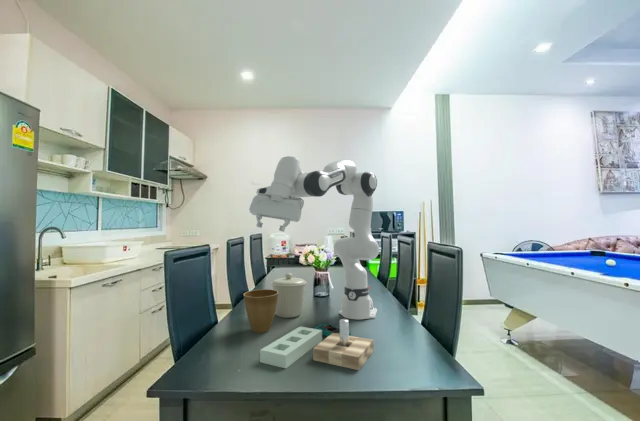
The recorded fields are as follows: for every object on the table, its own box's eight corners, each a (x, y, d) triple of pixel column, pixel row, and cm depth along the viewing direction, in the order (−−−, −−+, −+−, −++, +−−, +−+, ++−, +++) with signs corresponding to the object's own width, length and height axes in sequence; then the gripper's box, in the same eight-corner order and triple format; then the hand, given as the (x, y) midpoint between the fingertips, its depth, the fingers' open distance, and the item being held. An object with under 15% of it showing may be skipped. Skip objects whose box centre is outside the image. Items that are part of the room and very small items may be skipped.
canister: (313, 313, 155) (313, 272, 156) (292, 323, 140) (292, 277, 141) (286, 308, 165) (286, 269, 166) (263, 316, 149) (263, 273, 151)
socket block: (332, 343, 115) (332, 332, 115) (373, 351, 108) (373, 339, 108) (313, 360, 101) (313, 348, 101) (358, 370, 94) (358, 357, 94)
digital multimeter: (327, 329, 133) (327, 322, 133) (351, 338, 122) (351, 330, 122) (314, 332, 128) (314, 325, 128) (338, 343, 117) (338, 335, 117)
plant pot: (259, 322, 140) (259, 287, 141) (285, 328, 133) (285, 291, 134) (235, 332, 128) (235, 294, 128) (262, 339, 120) (262, 298, 121)
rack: (300, 336, 123) (300, 326, 123) (322, 340, 118) (322, 330, 118) (260, 362, 99) (260, 349, 100) (285, 368, 95) (285, 355, 95)
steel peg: (341, 353, 107) (341, 318, 107) (350, 354, 105) (350, 319, 106) (338, 356, 104) (338, 320, 104) (347, 358, 102) (346, 322, 103)
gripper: (307, 201, 116) (298, 235, 112) (260, 194, 122) (250, 227, 118) (302, 195, 110) (292, 231, 106) (253, 188, 116) (242, 222, 112)
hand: (270, 229), depth 112 cm, fingers open, 8 cm apart
